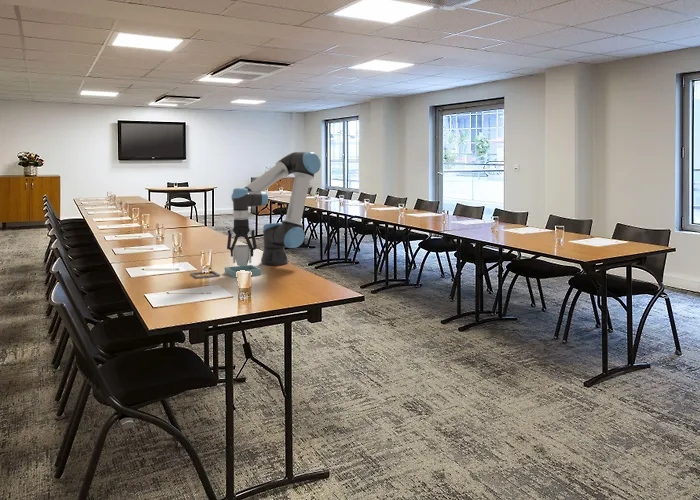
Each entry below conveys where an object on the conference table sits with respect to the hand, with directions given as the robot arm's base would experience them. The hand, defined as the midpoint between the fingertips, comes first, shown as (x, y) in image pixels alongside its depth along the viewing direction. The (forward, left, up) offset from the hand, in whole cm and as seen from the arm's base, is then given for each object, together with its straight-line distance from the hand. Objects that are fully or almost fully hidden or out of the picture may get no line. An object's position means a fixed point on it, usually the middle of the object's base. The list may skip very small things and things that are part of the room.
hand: (242, 262), depth 301 cm
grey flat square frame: (+18, -6, -6) cm, 20 cm away
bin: (0, 0, -6) cm, 6 cm away
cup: (0, 0, -1) cm, 1 cm away
